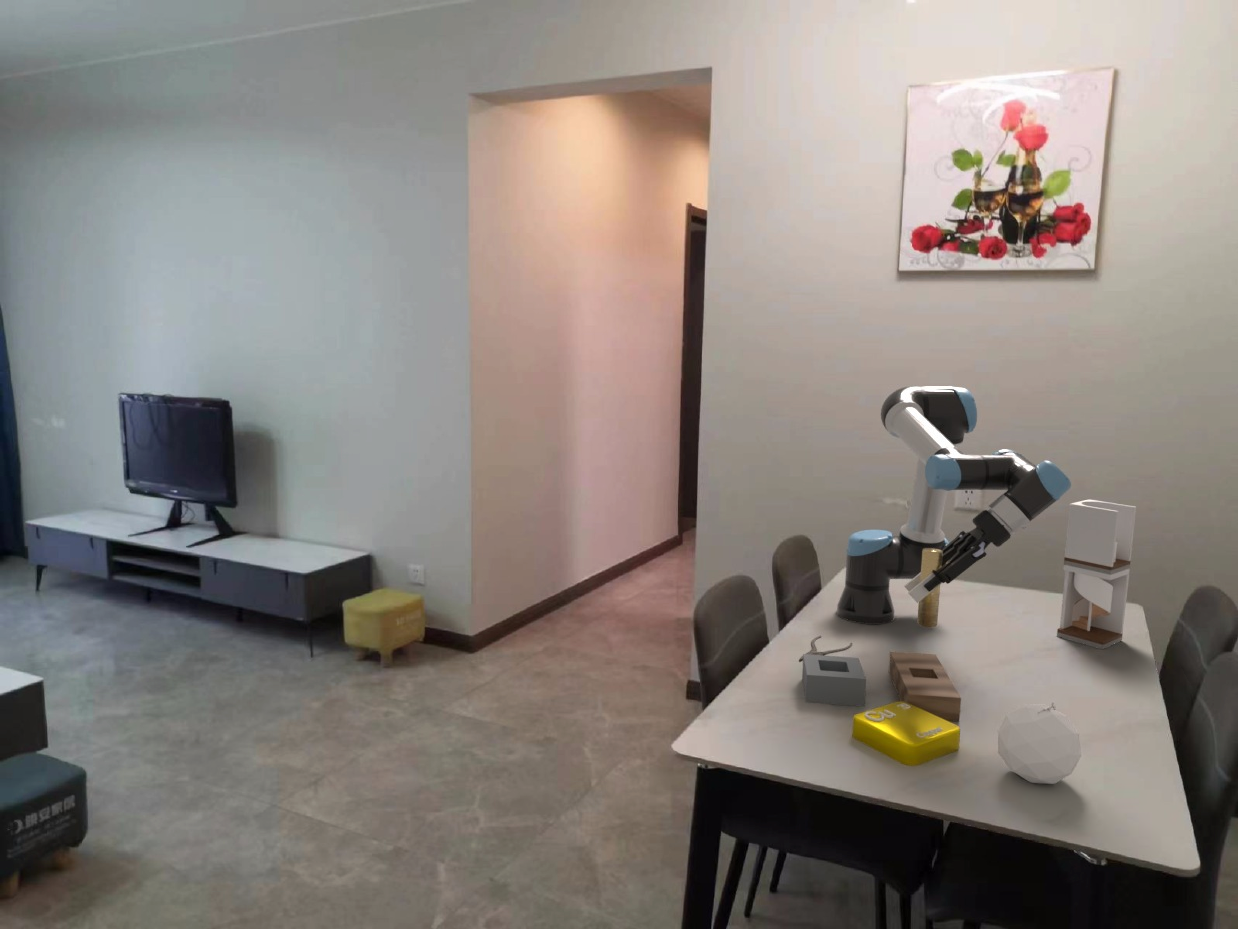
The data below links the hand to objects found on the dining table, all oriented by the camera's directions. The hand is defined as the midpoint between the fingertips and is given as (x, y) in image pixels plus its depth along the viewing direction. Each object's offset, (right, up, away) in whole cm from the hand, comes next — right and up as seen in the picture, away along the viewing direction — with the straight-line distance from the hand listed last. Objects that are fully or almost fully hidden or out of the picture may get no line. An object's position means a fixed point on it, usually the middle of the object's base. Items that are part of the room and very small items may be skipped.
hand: (910, 594), depth 185 cm
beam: (+3, -22, +3) cm, 23 cm away
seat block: (-16, -22, +4) cm, 27 cm away
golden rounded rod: (+4, -6, 0) cm, 7 cm away
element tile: (-7, -26, -18) cm, 32 cm away
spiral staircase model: (+59, -18, +40) cm, 74 cm away
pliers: (-11, -19, +28) cm, 36 cm away
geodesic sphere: (+12, -28, -31) cm, 43 cm away
